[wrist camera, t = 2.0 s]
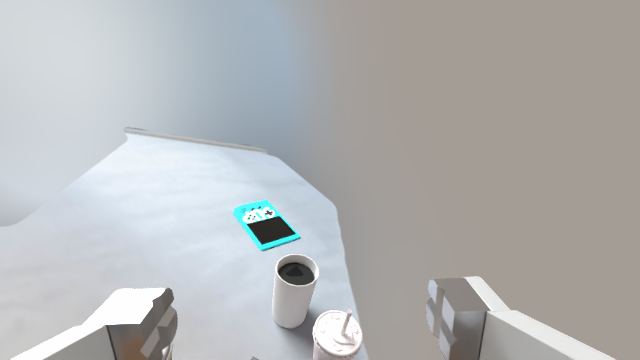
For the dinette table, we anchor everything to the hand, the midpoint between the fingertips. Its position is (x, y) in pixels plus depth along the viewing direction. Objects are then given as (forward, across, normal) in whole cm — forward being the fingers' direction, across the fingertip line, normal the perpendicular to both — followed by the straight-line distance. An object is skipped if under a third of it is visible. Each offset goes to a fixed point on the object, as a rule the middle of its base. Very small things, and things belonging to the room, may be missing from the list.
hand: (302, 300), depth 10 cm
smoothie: (+25, -1, +32) cm, 41 cm away
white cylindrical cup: (+34, +5, +29) cm, 45 cm away
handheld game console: (+57, +12, +24) cm, 63 cm away
